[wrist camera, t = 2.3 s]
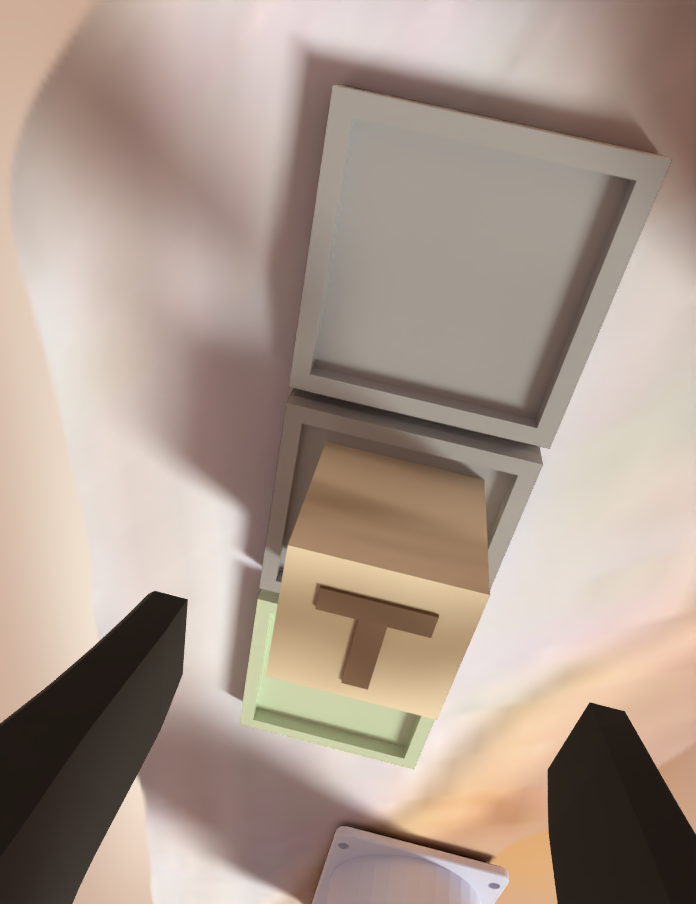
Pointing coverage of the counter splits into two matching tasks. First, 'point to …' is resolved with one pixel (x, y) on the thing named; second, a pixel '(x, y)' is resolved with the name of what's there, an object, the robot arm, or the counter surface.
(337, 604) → the letter block
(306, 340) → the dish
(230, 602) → the counter surface
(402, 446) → the middle dish
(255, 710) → the green dish
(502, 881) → the robot arm
